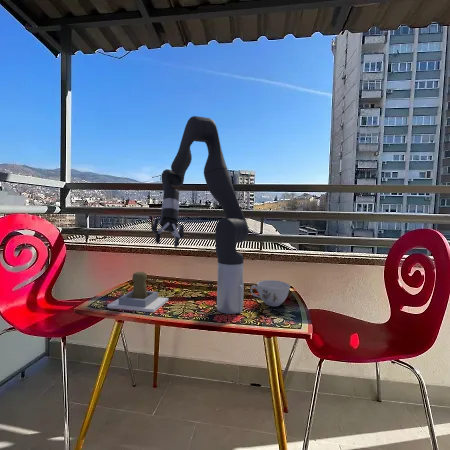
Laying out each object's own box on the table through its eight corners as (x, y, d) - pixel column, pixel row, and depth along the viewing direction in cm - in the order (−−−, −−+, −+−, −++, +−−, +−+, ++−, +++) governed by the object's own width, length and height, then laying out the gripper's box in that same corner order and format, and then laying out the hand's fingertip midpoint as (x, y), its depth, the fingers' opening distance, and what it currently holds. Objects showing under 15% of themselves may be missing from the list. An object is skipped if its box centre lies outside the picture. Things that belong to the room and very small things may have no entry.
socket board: (168, 300, 108) (168, 291, 108) (153, 312, 96) (153, 302, 96) (126, 296, 112) (126, 288, 112) (107, 307, 99) (107, 298, 99)
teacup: (288, 299, 112) (289, 280, 112) (290, 311, 100) (291, 289, 99) (251, 297, 115) (251, 278, 114) (248, 307, 102) (249, 286, 102)
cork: (143, 304, 100) (143, 274, 100) (128, 303, 102) (128, 273, 101) (150, 299, 106) (150, 271, 106) (136, 297, 108) (136, 270, 107)
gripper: (158, 203, 118) (155, 240, 113) (187, 211, 126) (185, 246, 121) (151, 209, 124) (148, 243, 119) (180, 216, 132) (177, 249, 127)
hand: (167, 244), depth 120 cm, fingers open, 8 cm apart
